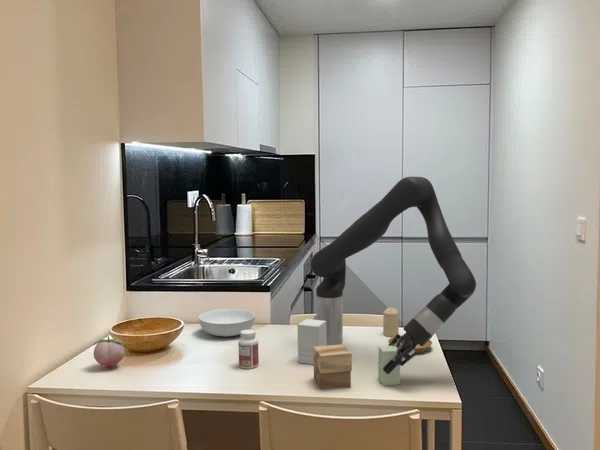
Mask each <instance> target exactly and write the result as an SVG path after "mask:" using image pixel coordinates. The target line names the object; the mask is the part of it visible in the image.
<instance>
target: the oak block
mask: <svg viewBox="0 0 600 450" xmlns="http://www.w3.org/2000/svg"><path fill="white" fill-rule="evenodd" d="M352 359H353V353H352V352H351V351H350V350H349V349H348V348H347V347H346V345H344V344H341V345H327V346H314V347H313V364H312V365H313V366H314V365H315V366H316V368H317V369H318V370H319V372H320V373H331V372H343V371H351V372H352V369H353V368H352V365H353V363H352V362H353V360H352Z"/></svg>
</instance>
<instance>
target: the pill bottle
mask: <svg viewBox="0 0 600 450" xmlns="http://www.w3.org/2000/svg"><path fill="white" fill-rule="evenodd" d="M256 333H257V332H256V330H254V329H249V330H243V331H241V334H240V338H239V339H238V342H237V343H238V344H237V345H238V366H239V368H241V369H244V370H245V369H246V370H247V369H248V370H250V369H255V368H257V367H258V366H259V362H260V361H259V356H260V355H259V340H258V338H257V337H256Z"/></svg>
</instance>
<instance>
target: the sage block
mask: <svg viewBox="0 0 600 450" xmlns="http://www.w3.org/2000/svg"><path fill="white" fill-rule="evenodd" d="M377 348H378V350H377V351H378V360H377V361H378V362H377V364H378V365H377V366H378V369H377V370H378V371H377V374H378V376H377V379H378V381H379V382H381V383H380V384H381V385H382V386H383V385H386V386H398V385H397V384H400V385H401V365H399V366H398V365H397V366H396V367H395V368H394V369H393V370H392V371H391V372H390V373H389V374H387V373H386V372H385V371H384V370H383V368H384V367H385V366H386V365H387V364H388V362H389V361H390V360H392V358H393V357H394V356H395V355H396V351H397V347H396V346H388V345H380V346H379V345H378V347H377ZM392 361H393V360H392Z"/></svg>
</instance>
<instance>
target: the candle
mask: <svg viewBox="0 0 600 450" xmlns="http://www.w3.org/2000/svg"><path fill="white" fill-rule="evenodd" d="M382 313H383V316H382V317H383V326H382V327H383V328H382V329H383V332H382V334H383V336H384V337H388V338H393V337H395V336H396V335H397V334H399V330H400V328H399V325H400V323H399V322H400V321H399V320H400V319H399V316H400V315H399V314H400V313H399V310H398V309H396V308H394V307H386V308H385V310H384V311H383V312H382Z"/></svg>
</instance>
